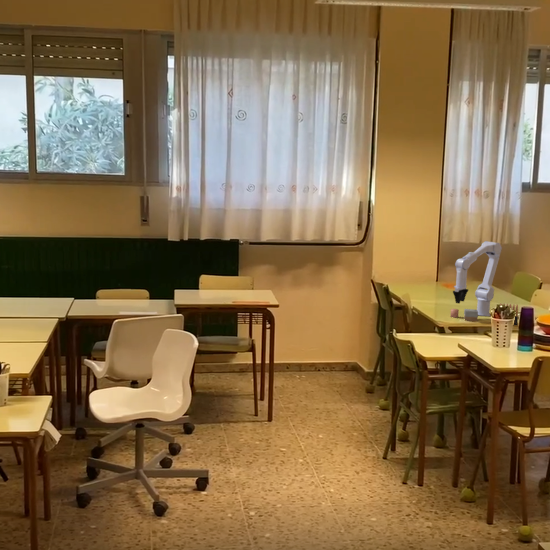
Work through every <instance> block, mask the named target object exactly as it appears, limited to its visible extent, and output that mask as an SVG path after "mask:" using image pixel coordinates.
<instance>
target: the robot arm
mask: <svg viewBox="0 0 550 550" xmlns="http://www.w3.org/2000/svg"><path fill="white" fill-rule="evenodd" d="M502 249H503V246H502V244H501V243H500V242H494V241H488V240H485V241H484V242H482V243H481V246H479V247H478V248H477V249H476V250H474V251H473V252H472V251H469V252H468V253H467V254H466V255H464V256H462V258H458V259H457V260H456V261H455V263H454V265H455V271H456V280H455V285H454V286H453V288H454V290H452V294H453V296H454V301H455V304H460V303H461V302H465V299H466V296H467V293H468V291H469V288H467V286H468V285H467V278H468V270H469V268H470V266H471V265H472V264H473V263H475V262H476V261H477V260H478V257H480V256H481V255H483V254H486V255H487V256H488V262H487V265H486V269H485V271H484V272H485V273H484V277H483V280H482V283H480V284H479V285H478V286H477V288H476V290H475V292H474V295H475V298H476V300H477V304H476V305H477V306H476V310H477V311H478V316H481V317H491V314H490V308H491V301H492V300H493V298H494V294H495V288H494V287H493V281H494V279H495V274H496V271H497V267H498V264H499V261H500V256H501V253H502Z"/></svg>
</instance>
